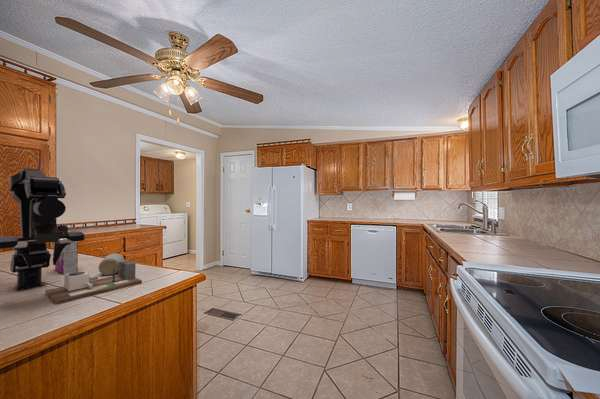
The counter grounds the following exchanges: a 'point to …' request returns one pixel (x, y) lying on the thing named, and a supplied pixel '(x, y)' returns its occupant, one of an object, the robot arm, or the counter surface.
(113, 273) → the peak needle
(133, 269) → the test rig
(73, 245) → the candy bar box
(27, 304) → the counter surface
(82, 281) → the gauge
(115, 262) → the ceramic mug
